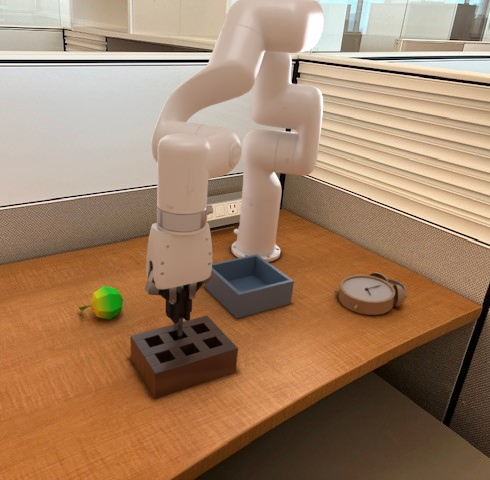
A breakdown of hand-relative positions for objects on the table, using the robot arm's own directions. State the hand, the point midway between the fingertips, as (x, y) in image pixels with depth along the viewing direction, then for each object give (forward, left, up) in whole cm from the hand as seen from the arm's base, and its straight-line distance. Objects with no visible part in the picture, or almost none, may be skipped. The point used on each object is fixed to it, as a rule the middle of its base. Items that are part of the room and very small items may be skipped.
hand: (178, 317), depth 81 cm
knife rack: (+2, 0, -9) cm, 9 cm away
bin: (-13, +23, -9) cm, 28 cm away
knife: (0, 0, -9) cm, 9 cm away
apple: (-18, -8, -9) cm, 21 cm away
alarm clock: (0, +47, -9) cm, 48 cm away
